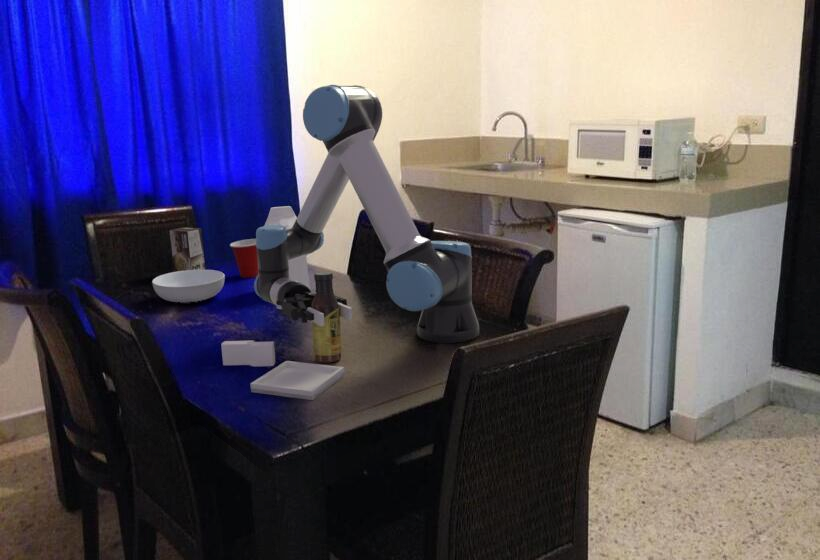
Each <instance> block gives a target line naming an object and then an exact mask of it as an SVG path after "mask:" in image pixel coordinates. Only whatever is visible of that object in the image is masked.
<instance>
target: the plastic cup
mask: <svg viewBox="0 0 820 560" xmlns="http://www.w3.org/2000/svg"><path fill="white" fill-rule="evenodd" d="M229 246H230V247H231V249H232V251H233V254H234V257H235V261H236V264H237V268H238V271H239V275H240V277H241V278H243V279H252V278H256V277H257V276H258V275H259V273H258V271H259V269H258V258H257V247H256V238H250V239H241V240H236V241H234V242H231V243H230V244H229Z"/></svg>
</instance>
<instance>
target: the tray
mask: <svg viewBox="0 0 820 560" xmlns="http://www.w3.org/2000/svg"><path fill="white" fill-rule="evenodd" d="M345 373H346V372H345V367H344V366H338V365H337V366H336V365H328V364H321V363H320V364H319V363H309V362H302V361H291V360H285V361H284V362H282V363H280V364H279V365H278V366H276V367H274V368H272V369H271V370H269V371H267V372H266V373H265V374H263V375H262V376H260V377H258V378H256V379H255V380H254V381H251V382H250V393H255V394H256V393H257V394H264V395H271V396H272V395H273V396H277V397H286V398H291V399H292V398H294V399H301V400H307V401H308V400H309V401H314V400H315V399H316V398H317V397H319V396H321V395H322V394H323V393H324V392H325V391H326V390H328V389H330V387H332V386H333V385H334V384H335V383H336V382H339V381H340V379H342V378H344V376H346V375H345Z"/></svg>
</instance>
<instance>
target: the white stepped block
mask: <svg viewBox="0 0 820 560" xmlns="http://www.w3.org/2000/svg"><path fill="white" fill-rule="evenodd" d="M221 355H222V365H223V366H250V367H274V366H275V365H276V352H275V342H274V341H255V340H224V341H222V343H221Z"/></svg>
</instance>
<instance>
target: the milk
mask: <svg viewBox="0 0 820 560" xmlns="http://www.w3.org/2000/svg"><path fill="white" fill-rule="evenodd" d="M297 217H298V216H297V215H296V214H295V211H294V210H293V208H292V206H290V205H288V206H287V205H285V206H274V207H270V210H269V213H268V215H267V218H266V221H265V223H264V225H263V226H270V225H280V226H284V227H285V228H286V230H288V229H291V228H292V227H293V225H294V223H295V221H296V219H297ZM307 259H308V258H307V254H306V255H303V256H299V257H296V258H293V259H290V260H288V263H289V278H290V279H292V280H295V281H297V282H299V283H302V284H304V285H306V286H307V287H308V288H309V289H310V290H311V285H310V278H309V268H308V260H307Z"/></svg>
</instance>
